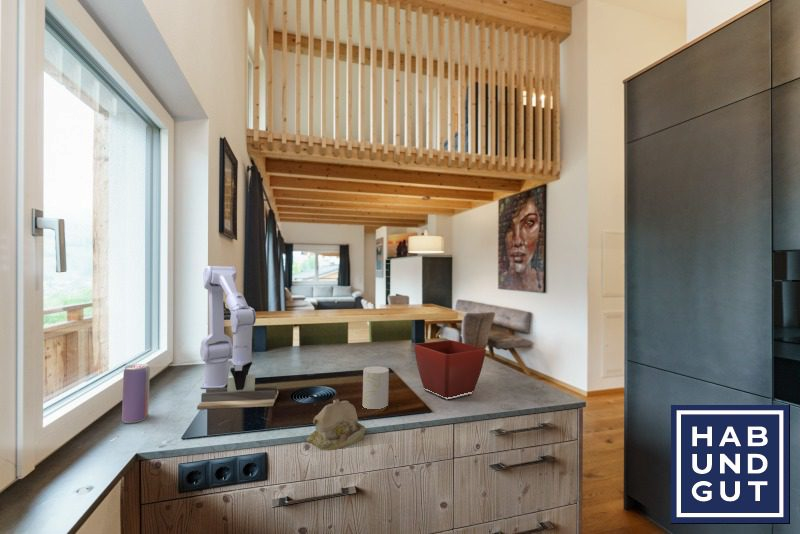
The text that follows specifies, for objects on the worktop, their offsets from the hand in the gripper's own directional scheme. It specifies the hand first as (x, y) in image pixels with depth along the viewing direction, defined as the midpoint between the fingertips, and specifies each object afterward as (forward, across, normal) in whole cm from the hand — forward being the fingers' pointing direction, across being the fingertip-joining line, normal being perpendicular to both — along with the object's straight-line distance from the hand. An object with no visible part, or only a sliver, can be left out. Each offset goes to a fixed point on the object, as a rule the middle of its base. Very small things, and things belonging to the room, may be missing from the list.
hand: (241, 387), depth 117 cm
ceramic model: (+5, +34, +27) cm, 44 cm away
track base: (+4, 0, 0) cm, 4 cm away
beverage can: (+5, +9, -26) cm, 28 cm away
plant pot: (+5, +7, +71) cm, 71 cm away
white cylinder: (+5, +15, +42) cm, 45 cm away
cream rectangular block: (+3, 0, 0) cm, 3 cm away
